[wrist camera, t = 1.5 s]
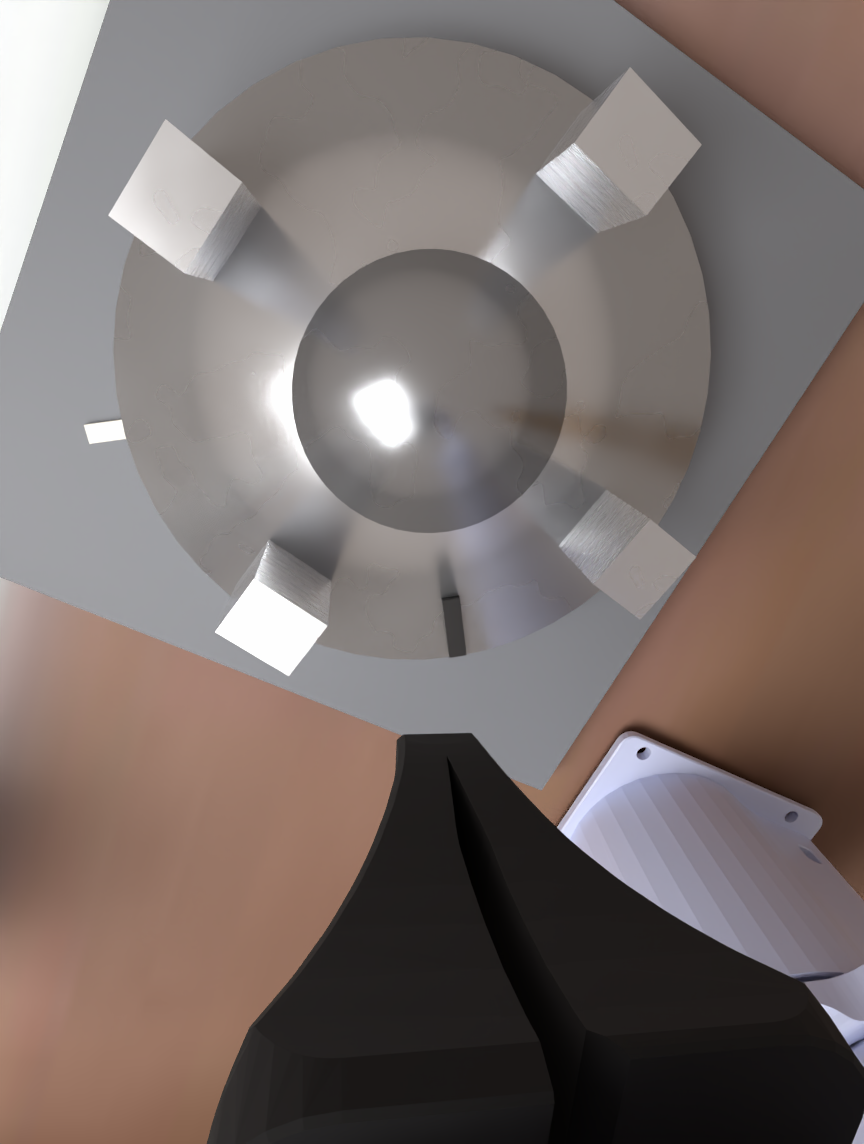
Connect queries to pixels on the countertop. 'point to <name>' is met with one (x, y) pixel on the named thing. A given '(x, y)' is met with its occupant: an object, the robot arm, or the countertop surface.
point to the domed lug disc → (414, 349)
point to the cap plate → (92, 281)
